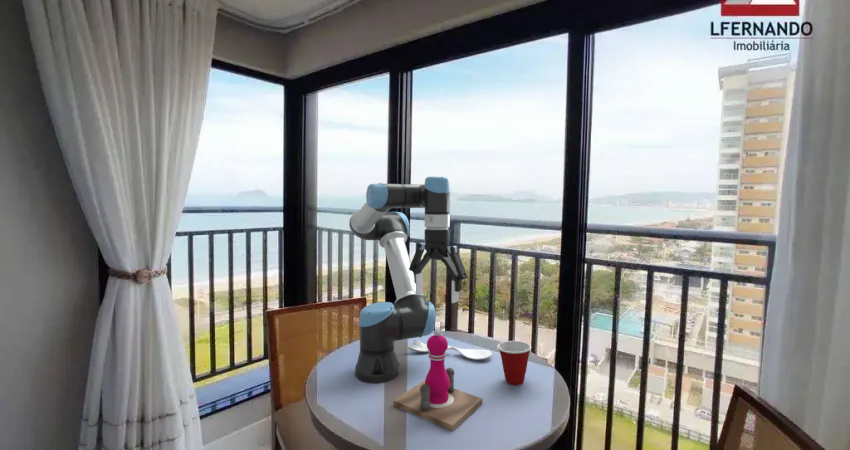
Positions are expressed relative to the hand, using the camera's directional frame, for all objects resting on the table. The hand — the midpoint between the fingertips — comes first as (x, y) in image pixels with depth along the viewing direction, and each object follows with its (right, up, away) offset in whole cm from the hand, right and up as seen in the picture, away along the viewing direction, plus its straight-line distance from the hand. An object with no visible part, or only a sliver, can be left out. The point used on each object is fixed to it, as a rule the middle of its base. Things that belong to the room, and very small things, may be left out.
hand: (436, 298), depth 110 cm
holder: (0, -29, -6) cm, 30 cm away
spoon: (+6, -28, +29) cm, 41 cm away
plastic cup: (+25, -29, +8) cm, 39 cm away
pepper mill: (0, -28, -6) cm, 29 cm away
